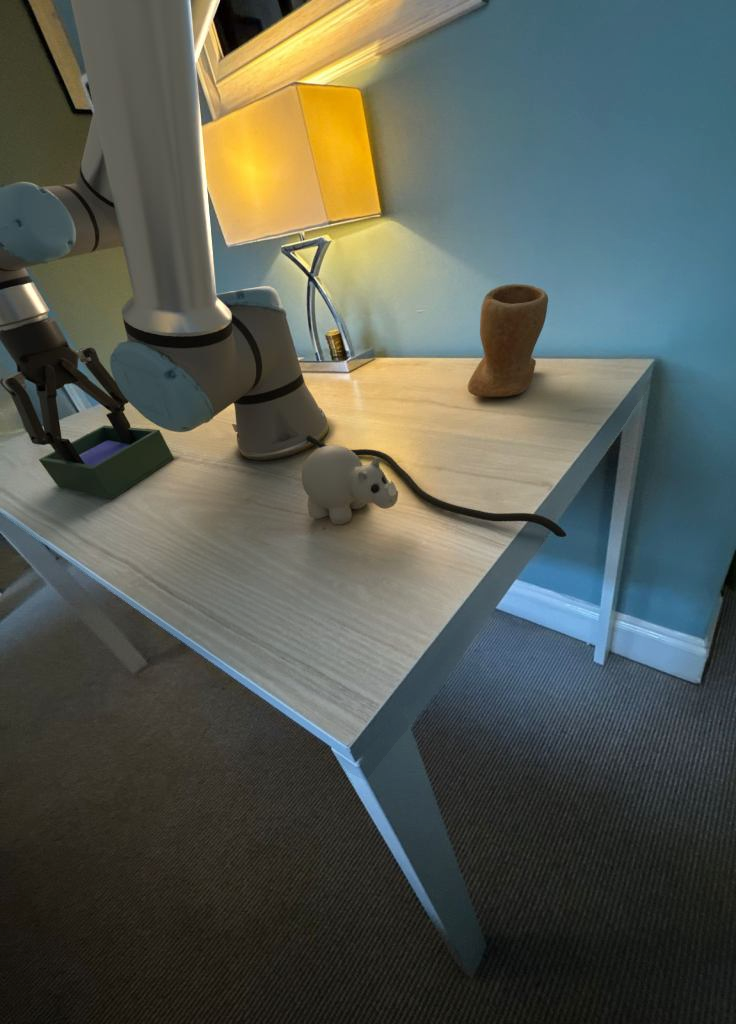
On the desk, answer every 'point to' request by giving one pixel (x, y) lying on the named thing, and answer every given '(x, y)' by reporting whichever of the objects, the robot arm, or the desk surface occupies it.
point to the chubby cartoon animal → (344, 484)
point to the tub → (110, 463)
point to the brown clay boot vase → (508, 339)
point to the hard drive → (101, 452)
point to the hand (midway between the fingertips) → (109, 460)
